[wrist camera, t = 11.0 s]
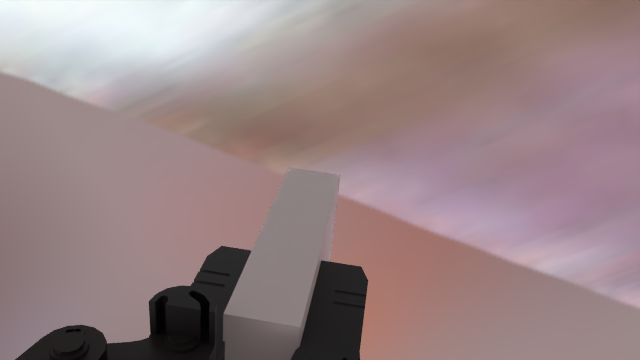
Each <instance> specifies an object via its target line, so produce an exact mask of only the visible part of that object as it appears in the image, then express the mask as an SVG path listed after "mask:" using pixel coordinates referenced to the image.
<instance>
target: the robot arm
mask: <svg viewBox="0 0 640 360" xmlns="http://www.w3.org/2000/svg"><path fill="white" fill-rule="evenodd" d="M339 181H340V175H336V174H329V173H322V172H315V171H308V170H301V169H295V168H289V169H288V171H287V173H286V175H285V178H284V180H283V182H282V185H281V187H280V189H279V191H278V193H277V195H276V198H275V200H274V202H273V205H272V207H271V209H270V211H269V213H268V216H267V218H266V220H265V222H264V224H263V227H262V229H261V231H260V234H259V236H258V238H257V240H256V242H255V245H254V247H253V249H252V251H250V250H244V249H238V248H231V247H225V246H221V247H220V248H219V249H217V250H215V251H214V252H213V253H211V254H210V255H208V256H207V258H206V260H205V262H204V263H203V265H202V267H201V269H200V272H198V274H197V276H196V278H195V279H194V283H192V285H191V286H177V287H172V288H167V289H165V290H163V291H161V292H159V293H158V294H156V295H155V296H154V297H153V298H152V299H151V300H150V301H149V311H150V331H151V334H150V336H149V338H146V339H144V340H140V341H133V342H124V343H110V344H107V341H106V339H105V337H104V335H103V333H102V332H100V331H99V330H97V329H96V328H94V327H89V326H84V325H75V326H66V327H63V328H60V329H57V330H54V331H52V332H51V333H49V334H47V335H46V336H44V337H43V338H41V339H40V340H39V341H38V342H37V343H35V344H34V345H33V346H32V347H30V348H29V349H28V350H27V351H25V352H24V353H23V354H22V355H20V356H19V357H18V358H17V359H15V360H360V353H359V351H360V343H361V335H362V334H361V333H362V326H363V318H364V309H365V301H366V293H367V285H368V280H367V277H366V276H365V273H364V271H363V269H362V267H360V266H353V265H346V264H340V263H334V262H329V260H330V255H331V249H332V240H333V232H334V224H335V215H336V207H337V198H338V190H339Z"/></svg>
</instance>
